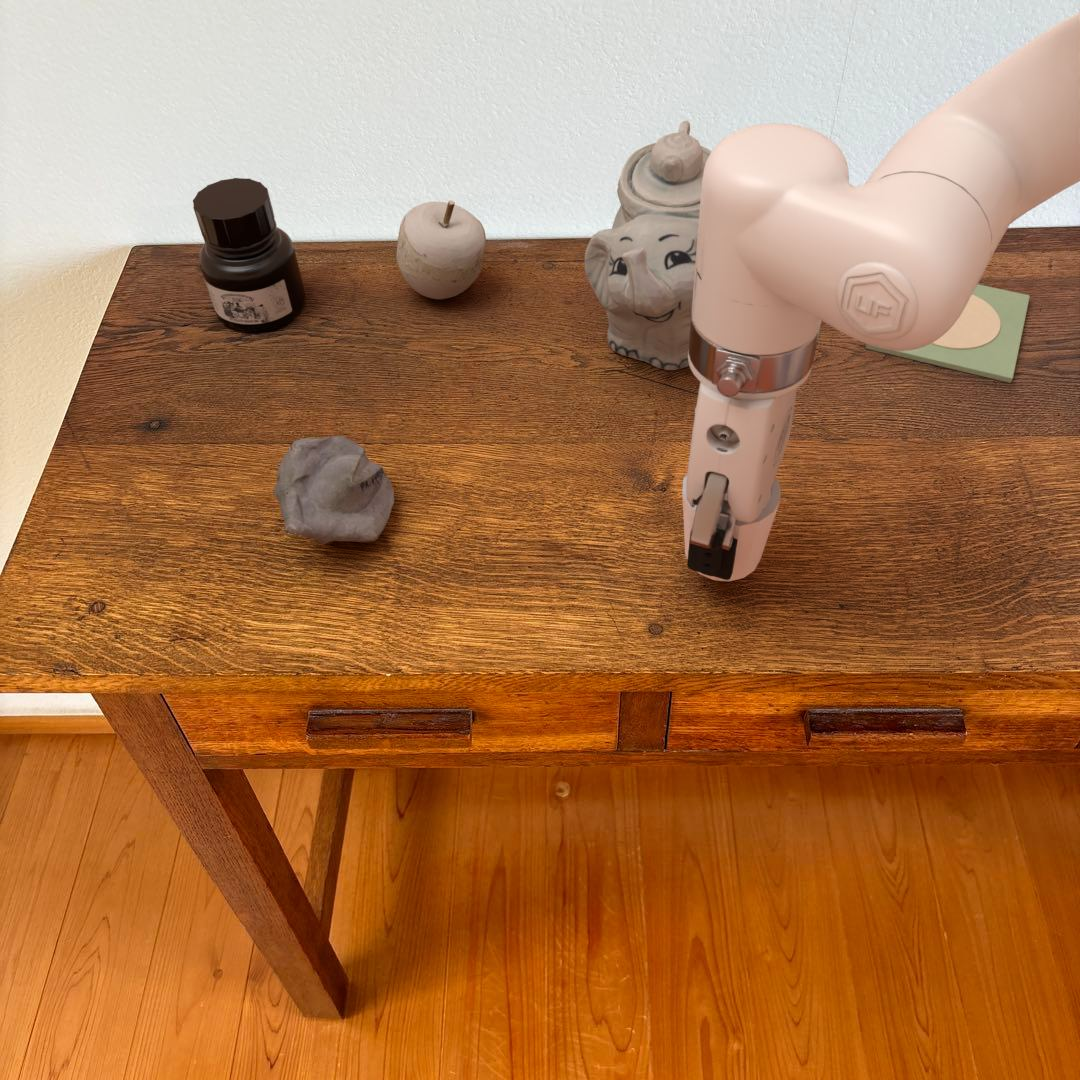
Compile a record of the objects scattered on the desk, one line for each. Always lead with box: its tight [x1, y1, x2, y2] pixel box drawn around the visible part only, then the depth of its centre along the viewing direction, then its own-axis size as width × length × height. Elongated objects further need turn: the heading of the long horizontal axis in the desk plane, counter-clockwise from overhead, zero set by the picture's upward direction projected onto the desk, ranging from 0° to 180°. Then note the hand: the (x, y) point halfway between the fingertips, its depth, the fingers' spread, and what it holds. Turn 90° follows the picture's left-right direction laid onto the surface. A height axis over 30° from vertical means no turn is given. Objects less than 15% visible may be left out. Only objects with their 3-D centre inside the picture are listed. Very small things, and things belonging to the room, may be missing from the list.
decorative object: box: [395, 200, 487, 300], centre depth 98 cm, size 9×9×10 cm
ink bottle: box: [192, 177, 306, 332], centre depth 96 cm, size 10×9×12 cm
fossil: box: [273, 435, 395, 545], centre depth 79 cm, size 11×9×8 cm
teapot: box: [584, 120, 712, 371], centre depth 89 cm, size 16×15×19 cm
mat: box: [865, 283, 1031, 384], centre depth 96 cm, size 13×13×1 cm
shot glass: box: [681, 473, 782, 582], centre depth 73 cm, size 7×7×7 cm
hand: (725, 532), depth 74 cm, fingers closed on shot glass, 6 cm apart
